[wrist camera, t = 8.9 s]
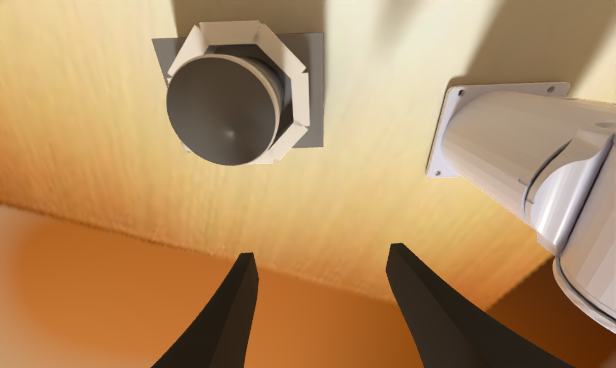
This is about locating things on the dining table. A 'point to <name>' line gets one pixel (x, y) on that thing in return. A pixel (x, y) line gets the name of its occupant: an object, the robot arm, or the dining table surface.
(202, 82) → the lens
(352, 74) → the dining table surface
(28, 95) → the dining table surface
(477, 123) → the robot arm
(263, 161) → the octagonal ring base
